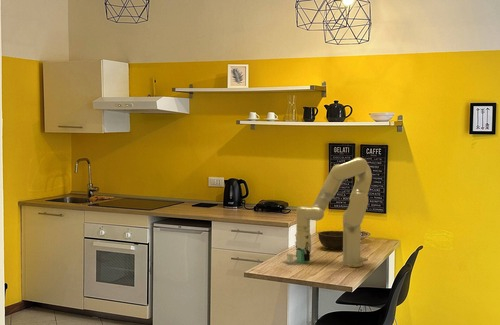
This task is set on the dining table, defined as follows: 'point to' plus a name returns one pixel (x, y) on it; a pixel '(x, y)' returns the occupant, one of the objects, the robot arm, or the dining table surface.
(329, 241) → the bowl
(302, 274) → the dining table surface
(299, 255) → the cap
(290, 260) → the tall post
